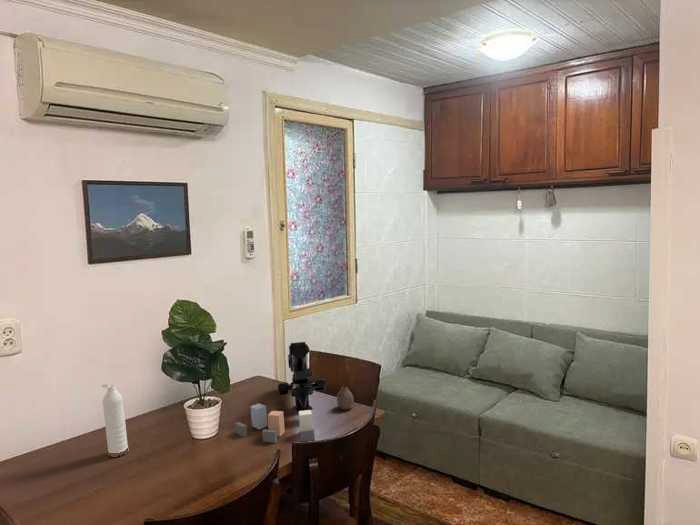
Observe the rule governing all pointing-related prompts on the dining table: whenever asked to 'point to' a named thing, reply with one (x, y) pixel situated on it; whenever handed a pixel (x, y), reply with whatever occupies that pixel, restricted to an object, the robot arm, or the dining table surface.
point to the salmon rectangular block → (276, 422)
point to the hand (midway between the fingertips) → (303, 407)
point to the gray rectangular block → (258, 416)
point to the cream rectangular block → (305, 419)
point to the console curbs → (274, 433)
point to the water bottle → (114, 420)
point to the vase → (345, 399)
